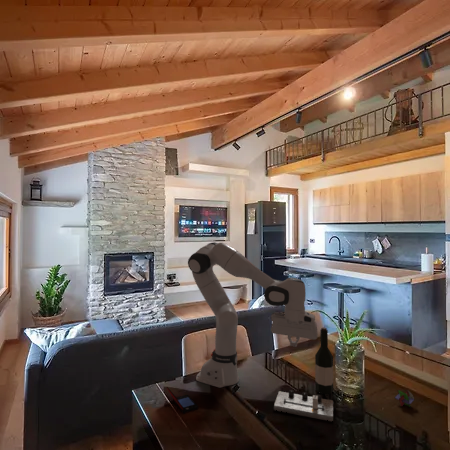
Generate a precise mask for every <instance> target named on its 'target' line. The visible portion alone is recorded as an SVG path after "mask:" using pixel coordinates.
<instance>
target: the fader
mask: <svg viewBox="0 0 450 450" xmlns="http://www.w3.org/2000/svg"><path fill="white" fill-rule="evenodd" d="M316 395H317V394H315V395H314V394H313V395H312V397H313V408H315V409H318V396H316Z"/></svg>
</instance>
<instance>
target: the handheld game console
mask: <svg viewBox="0 0 450 450" xmlns="http://www.w3.org/2000/svg"><path fill="white" fill-rule="evenodd" d="M166 389H167V391H168V392H169V395H171V397H172V402H173V403H175V406H177V407H179V410H180V412H181V413H182V414H183V415H185V414H186V413H190V412H194V411H196V410H198V409H199V405H198V404H197V403H196V402H195V401H194V400H193V398H192V397H191V396H190V395H189V394H184V395H180V396H177V397H176V395H175V394H174V393H173V392H172V391H171V390H170V388H169V387H168V386H166Z"/></svg>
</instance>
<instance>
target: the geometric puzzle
mask: <svg viewBox="0 0 450 450" xmlns="http://www.w3.org/2000/svg"><path fill="white" fill-rule="evenodd" d="M397 393H398V394H397ZM397 393H396V394H397V395H395V396H394V399H395V400H396V402H399V406H400V408H405V406H406V407H408V408H412V406H411V404H413V403H414V401H415V400H416V399H415V397H414V395H413V394H412V393H411V392H410V391H409V389H406V390H405V391H403V390H399V389H397ZM403 405H405V406H403Z"/></svg>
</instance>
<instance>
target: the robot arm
mask: <svg viewBox="0 0 450 450" xmlns="http://www.w3.org/2000/svg"><path fill="white" fill-rule="evenodd" d="M187 265H188V269H189V270H190V271H191V274H192V277H193V280H194V282H195V284H196V286H197V289H198V290H199V292H200V293H201V295H202V297H203V299H204V300H205V302H206V303H207V305H208V307H209V308H210V309H211V312H212V313H213V315H214V317H215V336H214V337H215V338H214V339H215V340H214V341H215V342H214V343H215V345H214V346H215V348H214V349H213V351H212V352H211V354H210V357H211V358H209V359H208V360H207V361H205V363H203V365H202V366H201V368H200V371H199V372H198V373H197V375H196V376H195V377H196V378H195V381H196V382H200V383H202V384H206V385H209V386H213V387H217V388H223V387H228V386H233V385H235V384H238V383H239V382H240V377H239V372H238V365H237V364H238V352H237V334H238V323H239V322H238V321H239V320H238V319H239V315H238V311H236V309H235V307H234V305H233V303H232V302H231V300H230V298H229V297H228V295H227V293H226V291H225V290H224V288H223V286H222V285H221V282H220V281H219V279H218V277H217V275H216V274H215V271H214V269H213V268H214V266H215V265H217V266H218V267H220V268H221V269H223V270H224V271H225V272H226V273H228V274H230V275H231V276H233V277H235V278H244V279H249V280H251V281H253V282H254V283H256V284H258V285H259V286H260V287H262V288H263V289H264V293H263V297H264V300H265V302H266V303H267V304H268V305H269V306H275V307H277V306H284V313H283V312H277V311H276V312H273V313H272V314H271V315H270V316H271V318H270V320H271V327H270V332H271V333H272V334H275V335H282V336H287V339H288V341H289V346H290V347H295V348H296V347H297V346H298V343H299V341H300V338H301V339H302V338H303V339H309V340H317V339H318V325H317V322H316V321H315V320H316V316H315V315H314V314H313V313H310V312H308V311H306V306H305V302H306V297H307V296H306V295H307V294H306V285H305V282H304V281H303V280H302V279H300V278H296V277H287V278H286V279H285V280H279V279H275V278H273V277H271V276H270V275H269V274H267V273H265V272H264V271H262V270H261V269H259V268H258V267H256V265H254V264H253V263H252V262H251V261H250V260H249V259H248V258H247V257H246V256H245V255H243V254H242V253H241V252H240V251H238V250H237V249H235V248H234V247H232V246H230V245H228V244H227V243H224V242H214V241H213V242H210V243H207V244H206V245H204V246H202V247H200V248H199V249H198V250H196V252H194V253H192V254H191V255H190V257H189V258H188V260H187ZM292 337H294V338H295V339H296V340H294V341H293V340H292Z"/></svg>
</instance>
